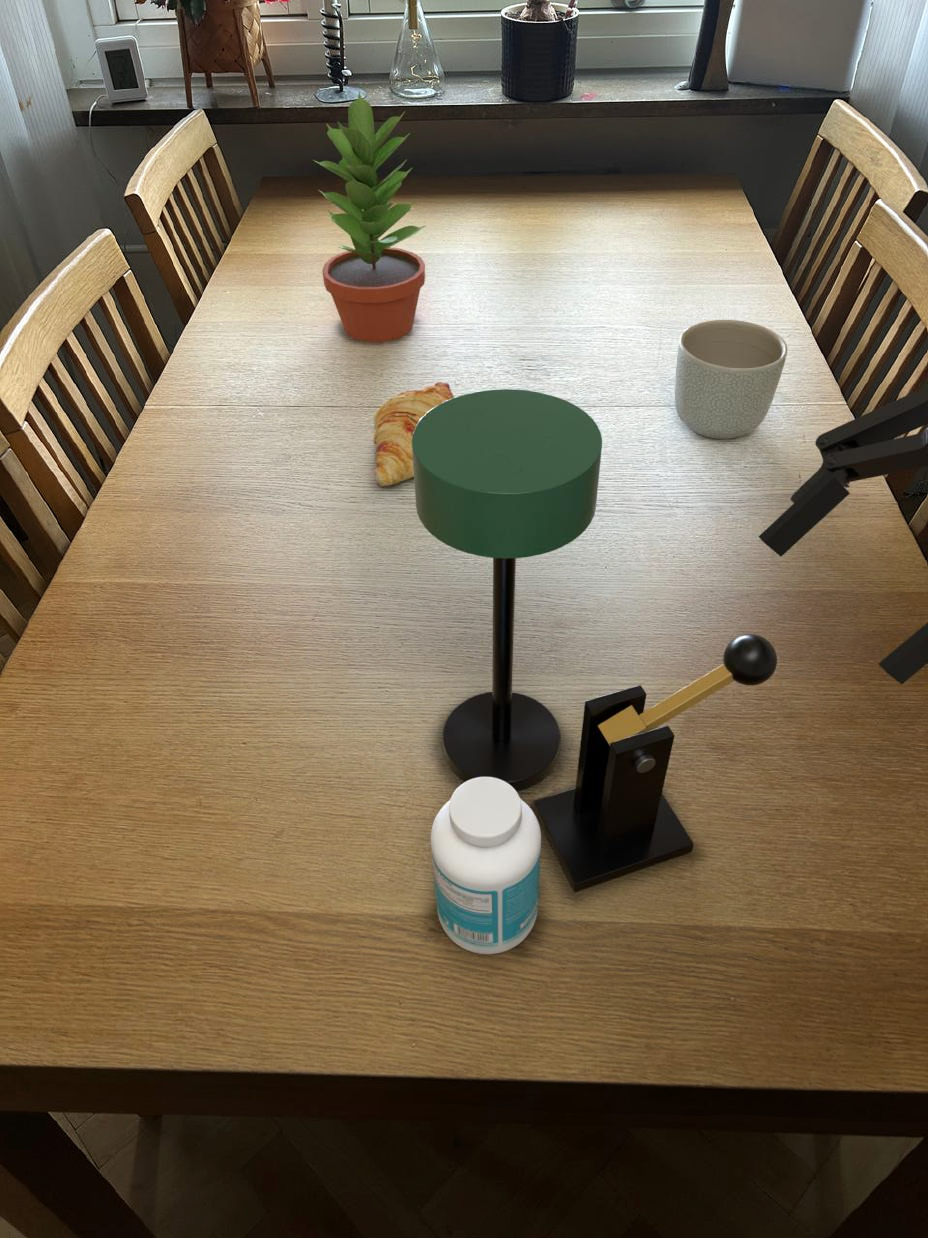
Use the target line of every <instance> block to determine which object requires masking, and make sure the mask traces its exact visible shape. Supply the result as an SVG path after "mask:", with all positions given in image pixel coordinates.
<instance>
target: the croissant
mask: <svg viewBox="0 0 928 1238" xmlns="http://www.w3.org/2000/svg"><path fill="white" fill-rule="evenodd" d="M452 398H455V395H454V394H453V392H452V390H451V385H450V384H449V382H442V381H437V382H436V383H434V385H430V386H426V387H424V388H423V389H413V390H408V391H404V392H400V393H398V394H396V395H394V396H392V397H390V398H389V399H387V400H386V401H385V402H384V403H382V404H381V406H380V407H379V408H378V409H377V410H376V412H375V413H374V415H373V429H374V430H375V431H374V436H373V444H374V445H375V446H376V452H375V454H374V461H375V462H376V468H375V470H374V474H375V480H376V482H377V483H378V484H379V485H380V486H382V487H383V486H384V487H388V486H392V485H397V484H399V483H401V482H403V481H407V480H410V479H412V478H414V469H413V454H412V436H413V432H414V429H415V427H416V425H417V424H418V422H419V421H420V420H421V418H422V417H423V416H424V415H425V414H426V413H427V412H429V411H430V410H431V409H433V408H434V407H436V406H437V405H439V404H441V403H443V402H445V401H447V400H450V399H452Z"/></svg>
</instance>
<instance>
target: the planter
mask: <svg viewBox="0 0 928 1238" xmlns="http://www.w3.org/2000/svg"><path fill="white" fill-rule="evenodd" d="M676 354H677V355H676V365H675V379H674V407H675V410H676V413H677V415H678V417H679V419H680V421H681V422H682V423H683V424H684V425H685V426H686V427H687V428H689V429H690V430H692V431H693V432H695V433H696V434H699V435H701V436H704V437H707V438H712V439H720V440H729V439H734V438H739V437H741V436H744V435H747V434H749V433H751V432H752V431H754V430H756V429H757V428H758V427H759V426H760V425H761V424H762V423H763V422H764V420H765V418H766V416H767V415H768V413H769V410H770V408H771V406H772V404H773V403H772V402H773V401H774V397H775V395H776V391H777V389H778V386H779V382H780V381H781V376H782V373H783V370H784V367H785V364H786V363H785V362H786V359H787V355H788V345H787V342H786V341H785V339H784V338H783V337H782V336H780V335H779V334H778V333H776V332H775V331H773V330H772V329H770V328H767V327H765V326H763V325H760V324H757V323H753V322H749V321H744V320H737V319H712V320H706V321H702V322H698V323H695V324H692V325H691V326H689V327H687V328H686V329H685V330H684V331H683V332H682V333H681V335H680V336H679V340H678V347H677V353H676Z"/></svg>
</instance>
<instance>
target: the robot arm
mask: <svg viewBox="0 0 928 1238" xmlns="http://www.w3.org/2000/svg"><path fill="white" fill-rule="evenodd" d="M926 425H928V382H927V383H926V384H924V385H923V386H922V387H920V389H918V390H915V391H913V392H911V393H909V394H907V395H905V396H902V397H900V398H898V399H896V400H894V401H891V402H889V403H887V404H884V405H883V406H881V407H877V408H876V409H874V410H871V411H869V412H867V413H865V414H863V415H861V416H859V417H856V418H854V419H852V420H849V421H847V422H846V423H845V422H844V424H841V425H839V426H836V427H834V428H832V429H829V430H828V431H826V432H824V433H821V434H819V436H818V437H816V439H815V442H814V443H815V446H816V448H817V449H818V450H819V454H820V455H821V457H822V463H821V466H820V467H819V468H818V469H817V471H815V472H814V473H813V474H812V475H811V476H810V477H809V478H808V479H807V480H806V481H805V482H804V483H802V484H801V486H800V487H798V488H797V489H796V490H795V491H794V492H793V494H792V495H791V497H790V499H789V500H790V501H791V502H792V504H791V505H790V506H789V507H788V508H787V509H786V510H785V511H784V512H783V513H782V514H781V515H779V516H778V517H777V518H776V519H775V520H774V521H773V522H772V523H771V524H770V525H769V526H768V527H767V528H766V529H765V530H763V531H762V532H761V534H759V535H758V539H760V541H762V543H764V545H766V546H767V547H768V548H770V550H772V551H773V552H774V553H776V554H777V555H778V556H779V557H780V558H781V557H783V556H784V555H785V554H786V553H787V552H788V551H789V550H790V549H791V548H793V547H794V546H795V545H796V544H797V543H798V542H799V541H800V540H801V539H803V538H804V537H805V536H806V535H807V534H808V533H809V532H810V531H811V530H812V529H813V528H814V527H816V526H817V525H818V524H819V523H820V522H821V521H822V520H823V519H824V518H825V517H827V515H828V514H830V512H832V511H833V510H834V509H835V508H836V507H837V506H838V505H839V504H840V503H841V502H843V501H844V500H845V499H846V498H847V497H848V496H849V495H850V494H851V492H849V490H848V489H846V488H850V483H852V482H857V481H862V480H867V479H873V478H876V477H881V476H886V475H892V474H897V473H902V472H906V471H911V470H915V469H921V468H926V467H928V427H926V428H925V429H924V430H923V431H922V432H919V433H914V434H911V435H906V436H903V435H905V434H908V433H910V432H913V431H915V430H918V429H920V428H922V427H924V426H926ZM902 436H903V437H902ZM878 665H879V667H880V668H881V669H882V670H883V671H884V672H885V673H886V674H888V675H889V676H890V677H891V678H892V679H894V680H895V681H897V683H899V684H900V685H904V683H906V682H907V681H908V680H910V679H911V678H912V677H913V676H915V675H916V674H917V673H919V671H920V670H922V669H923V668H925V666H927V665H928V621H927V622H926V623H925V624H924V625H922V626H921V627H920V628H919V629H918V630H916V631H915V632H914V633H913V634H912V635H911V636H910V637H908V638H907V639H906V640H904V641H903V642H902V643H901V644H899V645H898V646H897V647H896V648H895V649H894V650H893V651H892V652H890V653H889V654H888V655H887V656H886V657H884V658H883V659H882V660H881V661H879V662H878Z"/></svg>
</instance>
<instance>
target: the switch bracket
mask: <svg viewBox="0 0 928 1238" xmlns="http://www.w3.org/2000/svg"><path fill="white" fill-rule="evenodd" d="M646 700H647V693H646V691H645V689H644V687H643V686H642V685H640V684H638V685H635V686H632V687H628V688H625V689H622V690H617V691H614V692H611V693H607V694H605V695H604V694H603V695H601V696H598V697H594V698H590V699H587V700H585V701H584V708H583V715H582V716H583V718H582V727H581V734H580V744H579V752H578V753H579V754H578V763H577V771H576V779H575V787H574V788H573V787H572V788H570V789H567V790H564V791H559V792H557V793H554V794H551V795H547V796H545V797H541V798H539V799H536V800H533V804H532V806H533V807H532V811H533V813H534V814H535V816H536V818H537V821H538V823H539V825H540V826H541V828H542V830H543V832H544V834H545V836H546V838H547V840H548V842H549V845H550V847H551V849H552V850H553V852H554V854H555V856H556V858H557V860H558V862H559V864H560V866H561V868H562V870H563V872H564V874H565V876H566V879H567V881H568V883H569V885H570V886H571V889H572V891H573V892H574V893H577V892H581V891H583V890H586V889H589V888H591V887H595V886H597V885H601V884H603V883H606V882H609V881H613V880H615V879H618V878H621V877H623V876H626V875H629V874H633V873H635V872H638V871H641V870H644V869H646V868H650V867H653V866H655V865H659V864H662V863H664V862H667V861H670V860H673V859H675V858H678V857H682V856H684V855H688V854H691V853H692V851H693V849H694V845H695V844H694V842H693V840H692V839H691V837H690V835H689V834H688V832H687V830H686V829H685V827H684V825H683V824H682V822H681V821H680V820H679V818H678V816H677V815H676V813H675V812H674V810H673V808H672V807H671V805H670V804H669V802H668V800H667V798H666V797H665V796H664V794H663V790H664V786H665V783H666V778H667V773H668V768H669V763H670V759H671V754H672V749H673V746H674V745H673V744H674V741H675V734H674V732H673V731H672V729H671V727H670V726H669V725H668V724H667V725H664V726H659V727H657V728H655V729H654V730H651V731H647V732H644V733H641V734H638V735H634V736H631V737H628V738H624V739H621V740H618V741H615V742H611V743H610V745H609V744H608V742H607V740H606V739H605V737H604V735H603V734H602V732H601V731H600V729H599V727H598V725H599V724H601V723H603V722H604V721H606V720H608V719H609V718H611V717H613V716H614V715H616V714H618V713H619V712H621V711H622V710H624V709H626V708H627V707H629V706H631V705H632V706H633V708H634V709H635V711H636V712H637V714H638V715H640V714H641V713H643V712H645V706H646Z"/></svg>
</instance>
